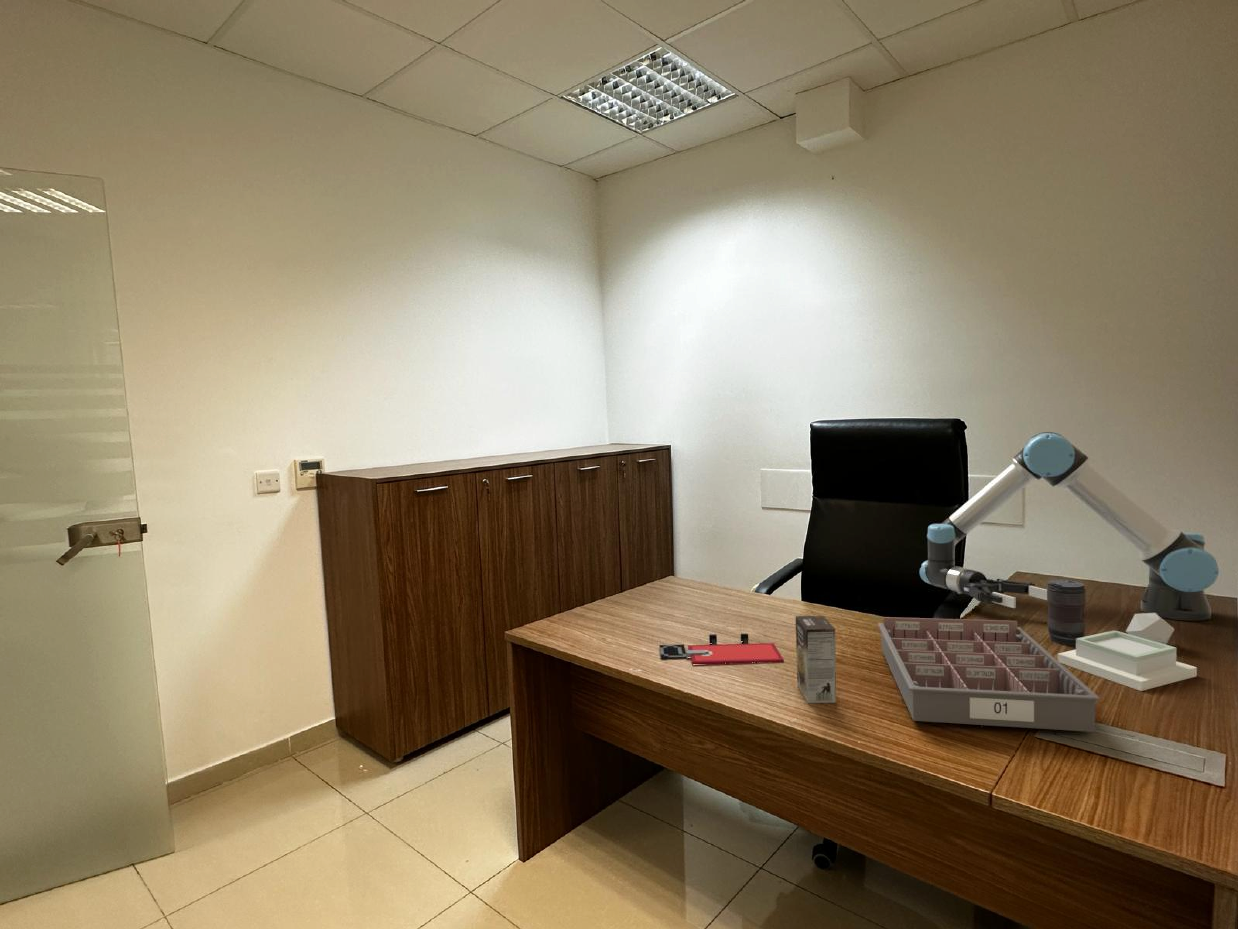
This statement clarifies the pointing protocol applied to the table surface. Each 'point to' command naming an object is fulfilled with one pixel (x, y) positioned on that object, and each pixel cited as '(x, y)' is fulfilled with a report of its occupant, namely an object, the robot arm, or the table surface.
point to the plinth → (1128, 677)
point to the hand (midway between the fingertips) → (1033, 599)
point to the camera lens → (1066, 610)
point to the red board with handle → (724, 652)
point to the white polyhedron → (1150, 627)
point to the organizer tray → (983, 675)
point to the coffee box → (816, 659)
